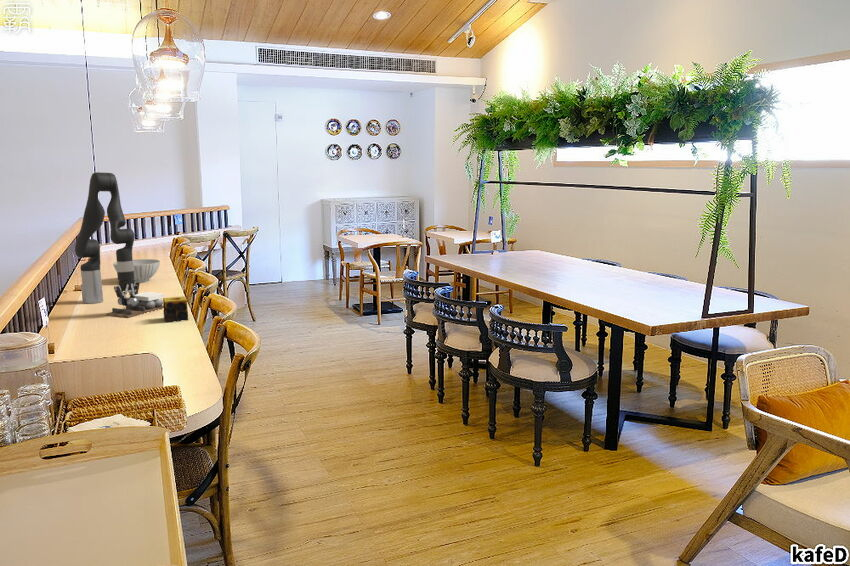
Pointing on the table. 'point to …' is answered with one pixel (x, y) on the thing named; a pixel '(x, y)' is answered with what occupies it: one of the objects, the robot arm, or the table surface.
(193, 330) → the table surface
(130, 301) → the roller
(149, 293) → the slab
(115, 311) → the roller bed
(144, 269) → the decorative bowl
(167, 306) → the black and yellow cube
